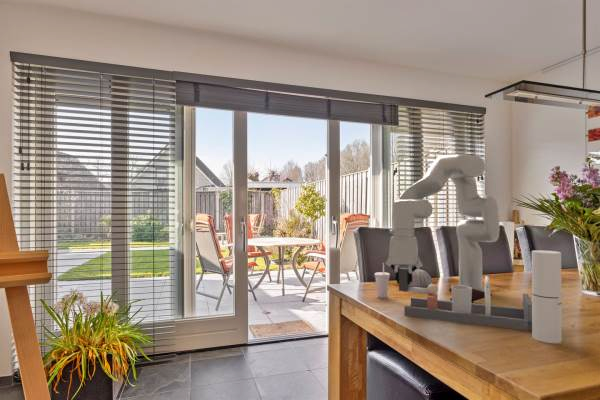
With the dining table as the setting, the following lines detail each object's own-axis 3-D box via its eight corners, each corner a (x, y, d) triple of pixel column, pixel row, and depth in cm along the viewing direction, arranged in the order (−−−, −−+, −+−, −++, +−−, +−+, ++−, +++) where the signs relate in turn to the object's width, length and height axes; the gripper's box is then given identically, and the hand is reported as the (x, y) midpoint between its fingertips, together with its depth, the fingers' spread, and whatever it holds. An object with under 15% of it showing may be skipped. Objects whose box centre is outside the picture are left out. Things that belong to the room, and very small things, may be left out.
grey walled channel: (411, 304, 144) (411, 270, 144) (528, 317, 128) (527, 278, 128) (404, 315, 131) (404, 277, 131) (534, 331, 114) (533, 288, 114)
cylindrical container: (526, 334, 112) (525, 250, 112) (549, 334, 112) (548, 250, 112) (544, 343, 104) (543, 253, 105) (568, 342, 105) (567, 253, 105)
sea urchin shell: (398, 287, 175) (398, 269, 176) (407, 281, 187) (406, 265, 187) (428, 290, 169) (428, 272, 169) (434, 284, 180) (434, 268, 180)
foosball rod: (402, 304, 143) (401, 266, 143) (439, 308, 137) (439, 268, 137) (397, 310, 135) (397, 270, 135) (436, 315, 129) (436, 273, 129)
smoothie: (390, 299, 153) (390, 264, 153) (374, 298, 154) (374, 264, 154) (389, 295, 159) (389, 262, 159) (374, 294, 161) (374, 261, 161)
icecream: (489, 285, 148) (448, 286, 153) (491, 284, 142) (448, 285, 147) (491, 304, 146) (450, 304, 151) (494, 304, 140) (450, 304, 145)
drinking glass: (470, 320, 125) (470, 290, 125) (449, 317, 129) (449, 287, 129) (473, 315, 131) (473, 286, 131) (453, 312, 134) (453, 284, 135)
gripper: (379, 233, 139) (379, 283, 138) (425, 235, 132) (425, 287, 131) (383, 231, 145) (384, 279, 145) (428, 233, 138) (428, 283, 138)
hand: (403, 282), depth 138 cm, fingers closed on foosball rod, 3 cm apart
